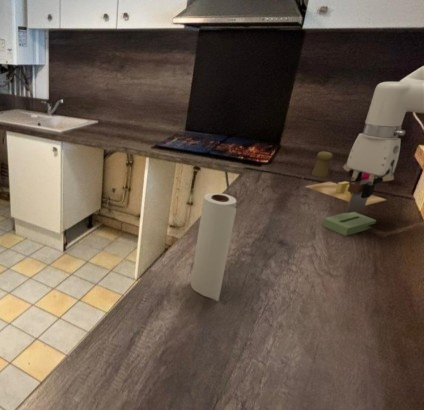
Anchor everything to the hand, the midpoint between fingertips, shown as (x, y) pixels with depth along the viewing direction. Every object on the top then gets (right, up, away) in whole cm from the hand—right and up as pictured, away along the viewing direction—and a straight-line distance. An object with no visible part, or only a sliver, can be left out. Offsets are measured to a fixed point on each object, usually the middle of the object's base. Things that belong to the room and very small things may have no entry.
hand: (360, 195), depth 102 cm
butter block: (+16, 0, +22) cm, 27 cm away
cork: (+17, +8, +44) cm, 48 cm away
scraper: (0, -5, +2) cm, 5 cm away
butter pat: (+14, +2, +26) cm, 30 cm away
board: (+14, 0, +26) cm, 30 cm away
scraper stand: (-1, -9, +4) cm, 10 cm away
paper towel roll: (-53, -21, -24) cm, 62 cm away
